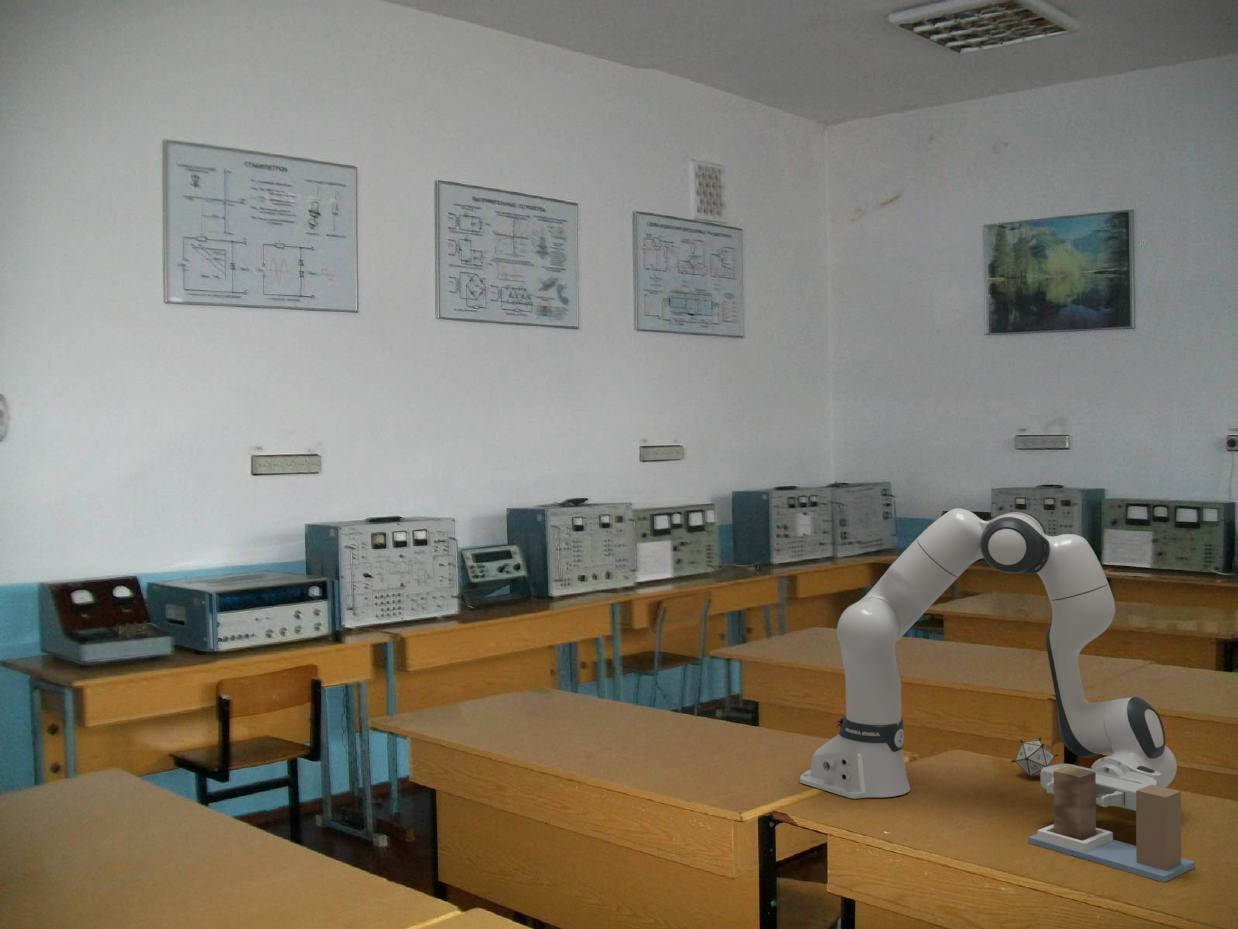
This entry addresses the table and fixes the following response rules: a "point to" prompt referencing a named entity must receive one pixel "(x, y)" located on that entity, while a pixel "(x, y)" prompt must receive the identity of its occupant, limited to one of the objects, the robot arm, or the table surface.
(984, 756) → the table surface
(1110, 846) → the baseplate
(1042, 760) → the game die
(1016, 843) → the table surface
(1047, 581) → the robot arm
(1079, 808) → the pillar
